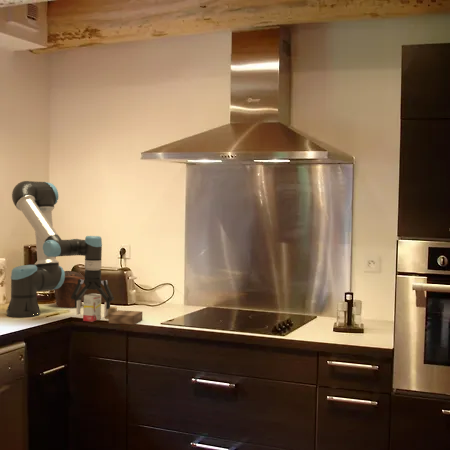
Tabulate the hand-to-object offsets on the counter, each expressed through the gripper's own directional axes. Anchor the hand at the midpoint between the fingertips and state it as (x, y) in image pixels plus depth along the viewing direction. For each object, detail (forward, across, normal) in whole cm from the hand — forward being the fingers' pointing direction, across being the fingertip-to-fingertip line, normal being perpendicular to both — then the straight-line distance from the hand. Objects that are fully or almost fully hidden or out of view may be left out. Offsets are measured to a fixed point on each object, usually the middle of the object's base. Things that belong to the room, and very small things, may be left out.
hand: (92, 315), depth 290 cm
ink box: (+2, 0, 0) cm, 2 cm away
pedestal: (+2, +16, +1) cm, 16 cm away
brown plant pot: (+2, -27, +35) cm, 44 cm away
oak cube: (+2, +6, +8) cm, 11 cm away
